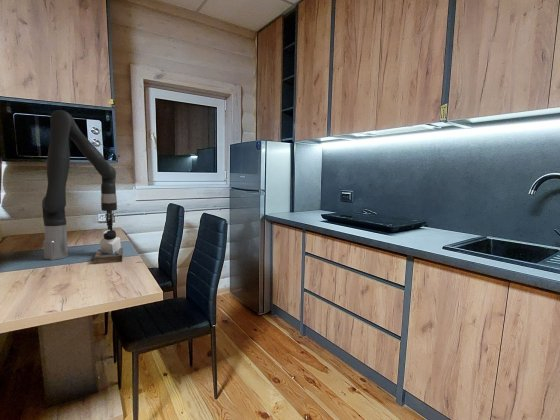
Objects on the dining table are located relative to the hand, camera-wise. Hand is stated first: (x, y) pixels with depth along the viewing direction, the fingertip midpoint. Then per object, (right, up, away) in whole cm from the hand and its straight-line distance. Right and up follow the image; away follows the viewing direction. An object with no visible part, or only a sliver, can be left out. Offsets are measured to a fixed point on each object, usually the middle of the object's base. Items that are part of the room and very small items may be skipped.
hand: (110, 232), depth 166 cm
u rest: (+4, -13, -8) cm, 16 cm away
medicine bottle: (0, -10, +1) cm, 10 cm away
